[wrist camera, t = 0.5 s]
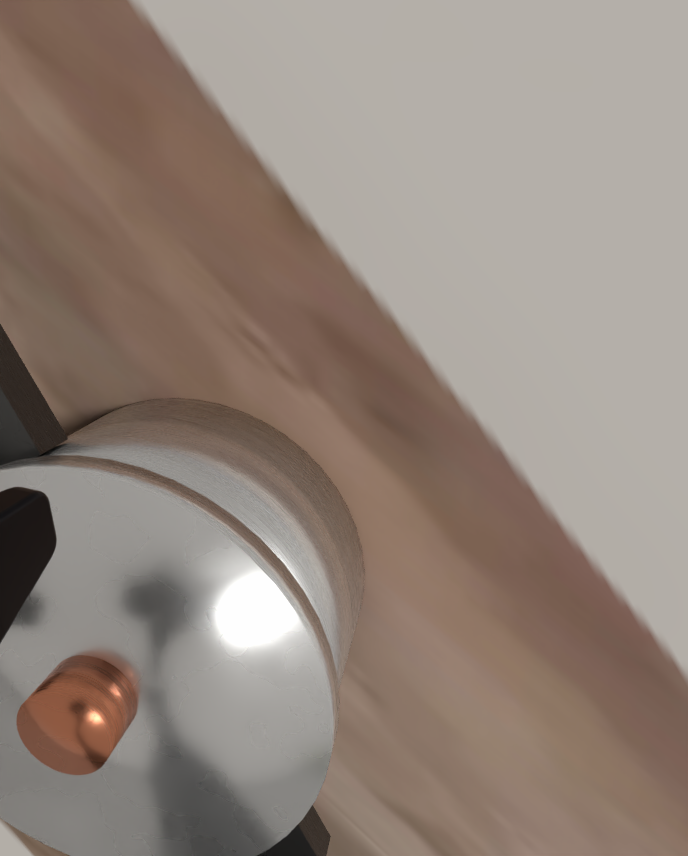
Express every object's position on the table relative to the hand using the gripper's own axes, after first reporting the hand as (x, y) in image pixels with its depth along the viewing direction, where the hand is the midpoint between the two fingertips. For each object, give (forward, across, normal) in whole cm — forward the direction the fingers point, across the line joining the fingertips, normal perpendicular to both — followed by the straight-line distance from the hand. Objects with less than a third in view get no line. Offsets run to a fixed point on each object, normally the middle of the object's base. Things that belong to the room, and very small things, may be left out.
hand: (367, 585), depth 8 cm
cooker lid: (+6, +11, +10) cm, 16 cm away
